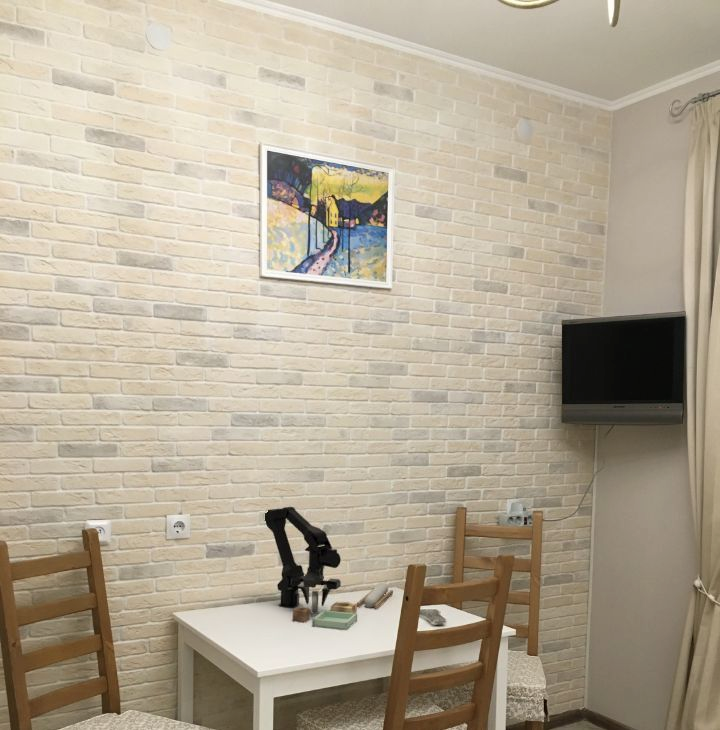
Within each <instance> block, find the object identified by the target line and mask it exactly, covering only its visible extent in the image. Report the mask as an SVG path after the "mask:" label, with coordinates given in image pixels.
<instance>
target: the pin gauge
mask: <svg viewBox="0 0 720 730" xmlns="http://www.w3.org/2000/svg"><path fill="white" fill-rule="evenodd" d="M311 593H312V594H311V613H312V614H318V613H319V590H312V591H311Z"/></svg>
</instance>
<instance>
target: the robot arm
mask: <svg viewBox="0 0 720 730" xmlns="http://www.w3.org/2000/svg"><path fill="white" fill-rule="evenodd" d="M267 510H268V512H267V513H265V512H264V514H265V520H264V522H265V521H266V523H265V524H266V527H267V528H268V529H269V530H270V531H271V532H272V535H273V538H274V541H275V544H276V548H277V550H278V553H279V557H280V561H281V565H282V569H281V579H280V581H279V582H278V583H277V585H276V586H277V590H278V591H280V603H279V604H278V606H279V607H285V608H295V607H296V608H297V607H298V605H300V593H299V590H301V593H302V594H303V597H304V600H305V603H306V605H309V602H310V588H312V589H314V588H316V586H323V588H322V589H321V592H322V595H321V606H322V607H323V606H325V605H324V604H325V603H326V600H327V598H328V596H329V593H330V592H331V591H333V590H337V589H340V587H341V585H342V582H341V579H339V578H329V579H328V580H325V576H324V569H325V567H329V568H331V569H332V568H333V569H337V568H338V567H339V566H340V563H341V559H342V558H341V556H340V553H338V549H335V548H334V549H333V547H332V544H331V542H330V540H329V538H328V535H327V533H326V531H324V530H323V529H321V528H320V527H317V526H314V525H312V524H311V523H310V522H309V521H308V520H306V519H305V517H303V515H301V514H300V513H299V512H298V511H297V510H296V508H295V507H294V506H285V507H282V508H273V509H267ZM287 521H288V522H289V523H290V524H292V525H293V526H294V528H295V529H297V530H298V531H299V532H300V533H301V534H302V535H303V539H304V541H305V543H306V544H307V545H308V546H307V547H306V548H305V549H304V550H305V551H306V552H308V567H307V572H306V573H305V572H304V569H303V566H302V565H301V564H299V565H298V564H297V563H296V562H295V558H294V555H293V552H292V548H291V544H290V541H289V538H288V535H287V533H286V532H287V531H286V524H287ZM341 588H342V587H341Z"/></svg>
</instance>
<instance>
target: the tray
mask: <svg viewBox="0 0 720 730" xmlns="http://www.w3.org/2000/svg"><path fill="white" fill-rule="evenodd" d="M357 621H358V613H355V614H354V613H344V612H335V611H331V610H325V609H324V610H322V611H321V612H320V613H319V614H317V615H316V616H315V617H314V618H312V619H311V622H312V623H311V624H312V625H311V626H312V627H314V626H316V627H317V628H322V629H324V628H325V629H333V630H341V631H347V630H348V629H349V628H351V627H352V626H353V625H354V624H355V623H357ZM354 622H355V623H354ZM353 623H354V624H353ZM352 624H353V625H352ZM351 625H352V626H351ZM350 626H351V627H350Z"/></svg>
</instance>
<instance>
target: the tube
mask: <svg viewBox="0 0 720 730" xmlns="http://www.w3.org/2000/svg"><path fill="white" fill-rule="evenodd" d="M373 589H374V590H373ZM373 589H372V590H373V591H372V590H371V591H372V592H371V591H370V592H371V593H370V592H369V593H370V594H369V595H368V596H367V597H366V598H365V601H364V604H363V605H364V606H365V607H367V608H368V607H373V608H374V605H375V604H376V603H377V602H378V601H379V600H380V599H381V598H382V597H384V596H385V595H386V594H387V593H388V592H389V585H388V584H386V583H385V582H378V584H376V586H375V588H373ZM384 594H385V595H384Z"/></svg>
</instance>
